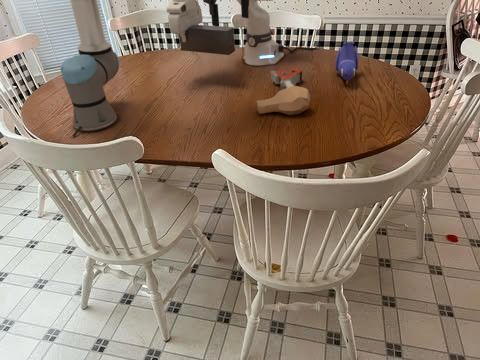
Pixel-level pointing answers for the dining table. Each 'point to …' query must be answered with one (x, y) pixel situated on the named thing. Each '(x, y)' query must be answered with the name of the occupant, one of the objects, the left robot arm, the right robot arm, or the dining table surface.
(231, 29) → the bar
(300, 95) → the squash
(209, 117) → the dining table surface
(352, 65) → the toy
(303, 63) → the dining table surface
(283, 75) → the tape dispenser
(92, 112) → the left robot arm
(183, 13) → the right robot arm
